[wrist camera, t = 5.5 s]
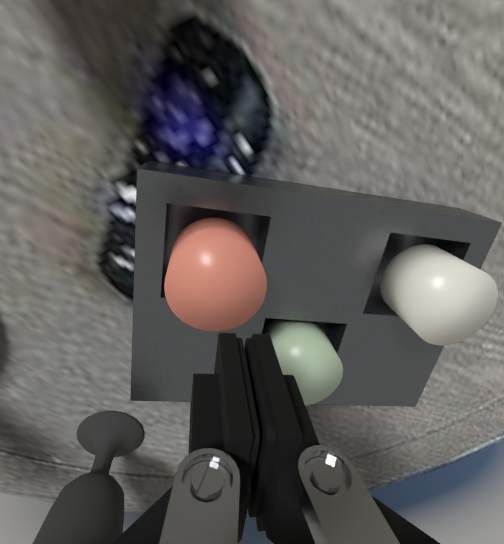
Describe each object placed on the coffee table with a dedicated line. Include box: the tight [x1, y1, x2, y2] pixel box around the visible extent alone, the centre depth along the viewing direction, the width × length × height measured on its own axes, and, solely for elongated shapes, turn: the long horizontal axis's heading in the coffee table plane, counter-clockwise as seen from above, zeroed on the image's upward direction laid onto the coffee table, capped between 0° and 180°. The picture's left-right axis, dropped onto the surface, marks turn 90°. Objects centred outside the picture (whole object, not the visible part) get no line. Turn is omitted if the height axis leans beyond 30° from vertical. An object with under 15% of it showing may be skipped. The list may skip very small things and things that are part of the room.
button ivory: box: [380, 244, 498, 345], centre depth 18 cm, size 4×4×4 cm
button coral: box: [164, 218, 267, 331], centre depth 16 cm, size 4×4×4 cm
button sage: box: [262, 319, 343, 405], centre depth 21 cm, size 4×4×4 cm
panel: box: [131, 161, 502, 407], centre depth 21 cm, size 20×14×4 cm
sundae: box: [33, 411, 144, 544], centre depth 19 cm, size 7×7×15 cm
